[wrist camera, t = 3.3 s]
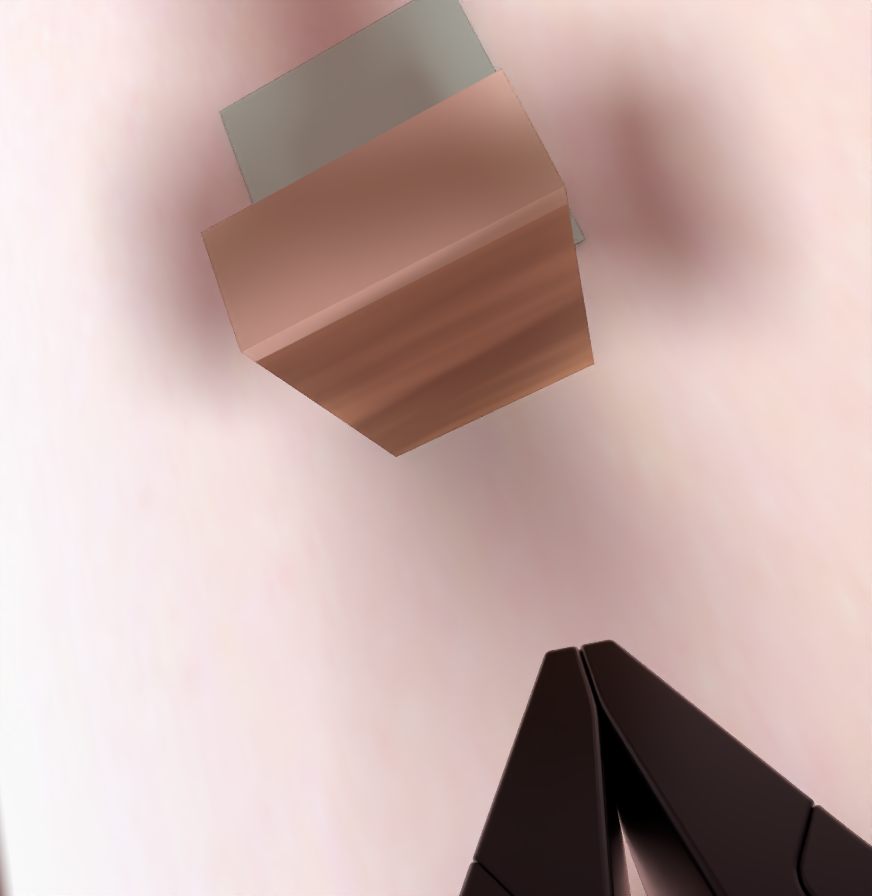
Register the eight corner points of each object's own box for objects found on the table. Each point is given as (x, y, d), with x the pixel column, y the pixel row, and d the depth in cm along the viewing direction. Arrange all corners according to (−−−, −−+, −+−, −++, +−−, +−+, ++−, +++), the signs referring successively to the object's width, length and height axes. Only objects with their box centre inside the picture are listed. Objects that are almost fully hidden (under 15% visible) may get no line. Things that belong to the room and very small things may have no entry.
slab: (593, 363, 23) (564, 185, 13) (396, 456, 24) (240, 351, 14) (554, 285, 24) (502, 68, 14) (365, 378, 25) (201, 232, 15)
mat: (584, 239, 24) (583, 235, 24) (317, 372, 25) (314, 370, 25) (449, -13, 27) (447, -20, 27) (223, 116, 29) (219, 111, 29)
